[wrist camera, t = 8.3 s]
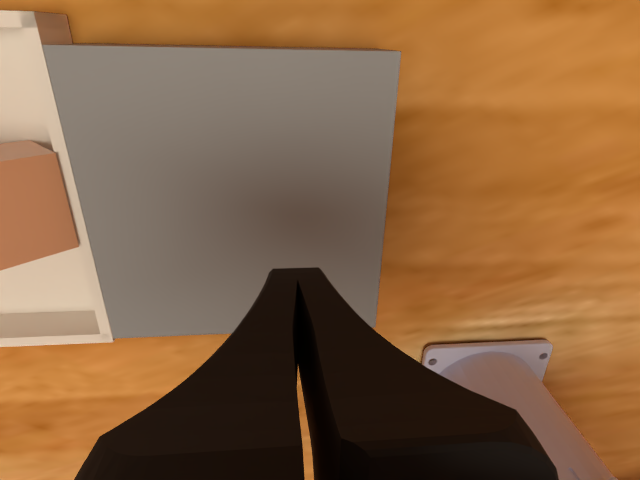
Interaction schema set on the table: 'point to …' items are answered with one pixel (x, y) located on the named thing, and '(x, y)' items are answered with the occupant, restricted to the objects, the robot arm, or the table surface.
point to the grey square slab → (226, 173)
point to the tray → (46, 130)
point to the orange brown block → (32, 205)
